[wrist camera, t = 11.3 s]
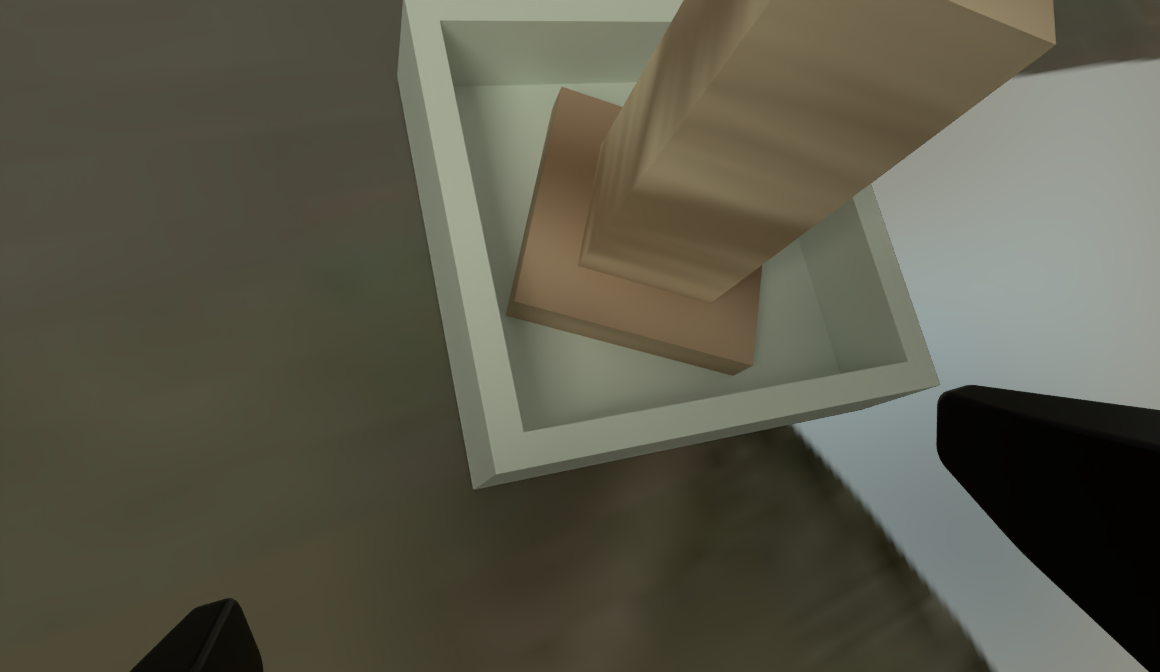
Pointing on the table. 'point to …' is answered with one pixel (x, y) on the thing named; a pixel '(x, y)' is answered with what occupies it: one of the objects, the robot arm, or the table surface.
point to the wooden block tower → (743, 157)
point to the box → (588, 366)
